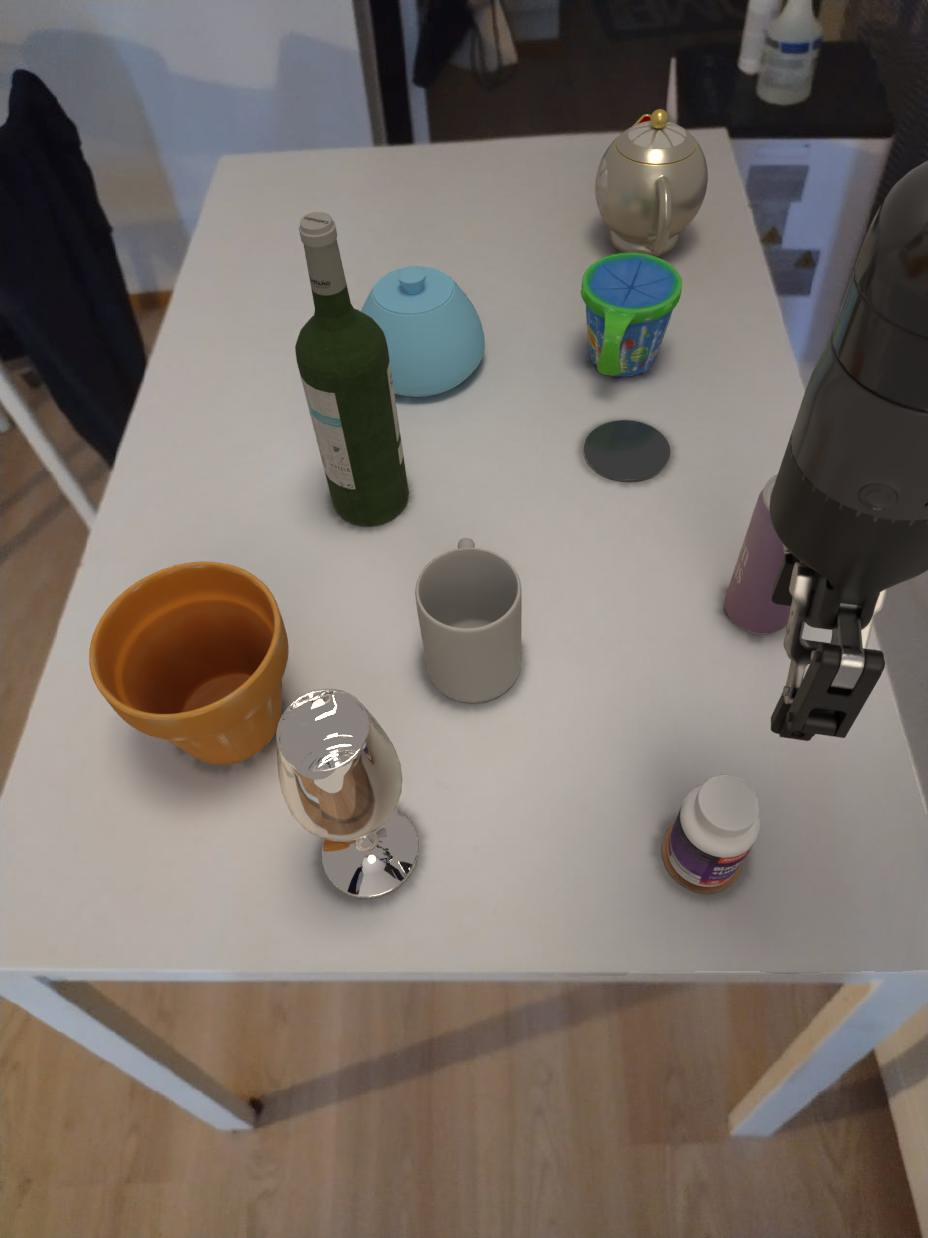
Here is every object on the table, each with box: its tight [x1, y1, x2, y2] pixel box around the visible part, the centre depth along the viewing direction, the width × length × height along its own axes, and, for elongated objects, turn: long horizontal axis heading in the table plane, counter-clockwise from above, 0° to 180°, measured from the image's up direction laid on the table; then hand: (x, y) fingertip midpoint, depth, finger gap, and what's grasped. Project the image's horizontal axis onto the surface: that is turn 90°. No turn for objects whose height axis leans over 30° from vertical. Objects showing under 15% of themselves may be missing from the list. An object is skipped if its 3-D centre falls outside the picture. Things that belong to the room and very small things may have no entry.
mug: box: [414, 537, 523, 704], centre depth 73 cm, size 12×8×11 cm
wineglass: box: [275, 688, 420, 899], centre depth 59 cm, size 8×8×20 cm
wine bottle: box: [294, 211, 410, 527], centre depth 76 cm, size 8×8×30 cm
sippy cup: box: [580, 252, 683, 378], centre depth 95 cm, size 16×10×10 cm
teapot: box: [594, 108, 709, 258], centre depth 105 cm, size 18×14×16 cm
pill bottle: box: [667, 774, 761, 887], centre depth 61 cm, size 5×5×10 cm
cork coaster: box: [661, 823, 744, 894], centre depth 65 cm, size 6×6×1 cm
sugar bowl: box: [360, 265, 486, 398], centre depth 96 cm, size 15×15×12 cm
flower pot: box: [88, 561, 290, 766], centre depth 69 cm, size 14×14×13 cm
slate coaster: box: [583, 419, 671, 483], centre depth 90 cm, size 9×9×1 cm
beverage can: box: [723, 473, 791, 635], centre depth 72 cm, size 6×6×15 cm
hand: (789, 662), depth 47 cm, fingers open, 8 cm apart
